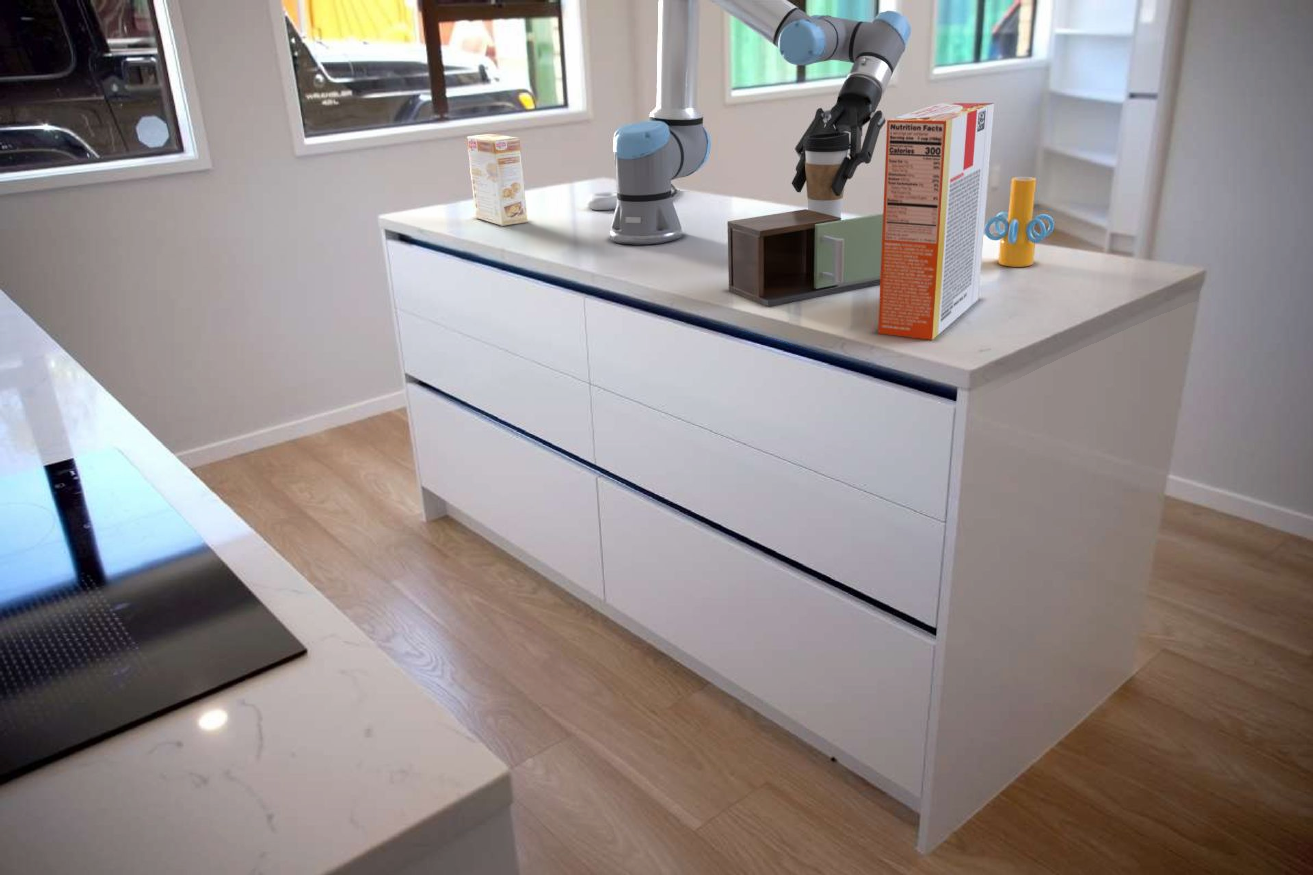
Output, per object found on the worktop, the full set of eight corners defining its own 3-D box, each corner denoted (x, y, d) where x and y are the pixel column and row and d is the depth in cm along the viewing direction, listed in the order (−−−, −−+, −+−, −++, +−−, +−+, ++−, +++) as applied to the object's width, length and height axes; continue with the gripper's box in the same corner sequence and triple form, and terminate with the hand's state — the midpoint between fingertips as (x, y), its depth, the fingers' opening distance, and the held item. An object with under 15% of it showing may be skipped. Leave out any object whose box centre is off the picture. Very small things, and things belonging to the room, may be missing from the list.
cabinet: (728, 291, 171) (727, 221, 167) (854, 267, 183) (856, 201, 178) (767, 306, 161) (767, 233, 157) (898, 280, 173) (902, 211, 168)
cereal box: (928, 294, 164) (940, 103, 152) (978, 299, 160) (994, 103, 148) (878, 333, 146) (887, 120, 134) (932, 340, 142) (946, 121, 130)
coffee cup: (846, 222, 181) (850, 136, 175) (800, 221, 183) (801, 137, 177) (848, 212, 188) (851, 130, 182) (803, 212, 190) (804, 131, 184)
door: (813, 288, 166) (814, 224, 162) (887, 273, 172) (890, 212, 168) (834, 295, 161) (835, 229, 157) (909, 280, 168) (912, 217, 164)
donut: (585, 213, 245) (626, 210, 245) (584, 198, 244) (625, 196, 243) (588, 205, 254) (627, 203, 254) (587, 191, 253) (626, 189, 252)
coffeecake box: (528, 222, 237) (520, 137, 229) (501, 226, 233) (492, 140, 225) (501, 214, 248) (492, 132, 240) (474, 218, 245) (465, 136, 237)
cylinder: (1037, 274, 172) (1047, 186, 166) (977, 268, 178) (984, 183, 172) (1053, 258, 182) (1063, 174, 176) (995, 253, 187) (1002, 172, 181)
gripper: (809, 73, 189) (760, 173, 184) (908, 75, 176) (858, 181, 172) (823, 100, 195) (776, 197, 190) (920, 103, 182) (872, 207, 178)
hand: (815, 189), depth 181 cm, fingers closed on coffee cup, 8 cm apart
